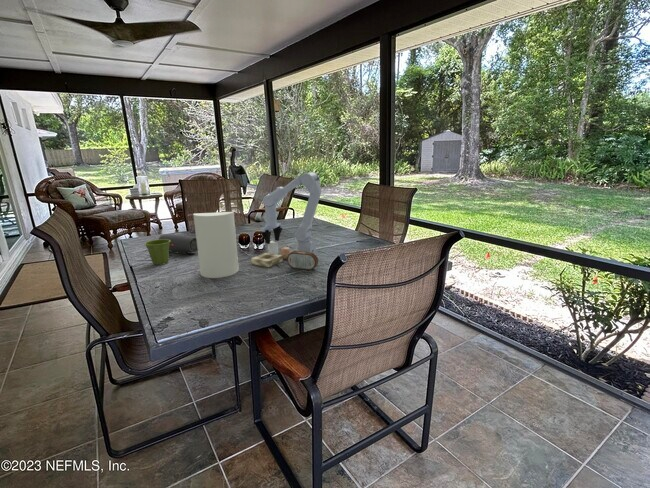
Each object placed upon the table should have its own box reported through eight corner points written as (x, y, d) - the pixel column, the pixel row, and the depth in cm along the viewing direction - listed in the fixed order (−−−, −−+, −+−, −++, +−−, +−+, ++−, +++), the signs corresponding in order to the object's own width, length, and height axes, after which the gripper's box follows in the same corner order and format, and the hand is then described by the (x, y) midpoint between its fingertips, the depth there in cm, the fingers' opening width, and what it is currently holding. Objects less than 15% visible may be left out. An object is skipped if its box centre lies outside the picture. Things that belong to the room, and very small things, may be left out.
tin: (318, 269, 158) (318, 252, 156) (316, 271, 156) (315, 254, 153) (289, 266, 163) (288, 249, 161) (286, 268, 160) (285, 251, 158)
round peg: (292, 257, 178) (291, 248, 176) (286, 259, 173) (285, 250, 172) (284, 255, 180) (284, 246, 179) (278, 258, 176) (278, 249, 175)
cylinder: (237, 276, 151) (231, 215, 143) (197, 279, 148) (189, 216, 141) (240, 264, 167) (235, 208, 160) (204, 266, 164) (197, 210, 157)
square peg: (278, 253, 184) (277, 241, 182) (273, 255, 181) (273, 242, 179) (272, 252, 186) (272, 240, 184) (268, 254, 183) (267, 242, 181)
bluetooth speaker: (158, 252, 189) (155, 235, 187) (171, 248, 198) (168, 232, 195) (189, 256, 181) (187, 238, 178) (201, 252, 189) (199, 235, 187)
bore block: (282, 261, 171) (282, 255, 170) (268, 267, 162) (268, 261, 161) (266, 257, 176) (266, 252, 176) (251, 263, 167) (251, 258, 167)
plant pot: (178, 261, 174) (175, 240, 171) (159, 268, 164) (155, 245, 161) (162, 258, 179) (159, 238, 176) (142, 265, 169) (138, 243, 166)
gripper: (274, 214, 186) (275, 238, 190) (256, 219, 174) (257, 244, 178) (284, 215, 182) (285, 239, 186) (266, 220, 171) (268, 246, 174)
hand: (272, 242), depth 182 cm, fingers open, 7 cm apart
